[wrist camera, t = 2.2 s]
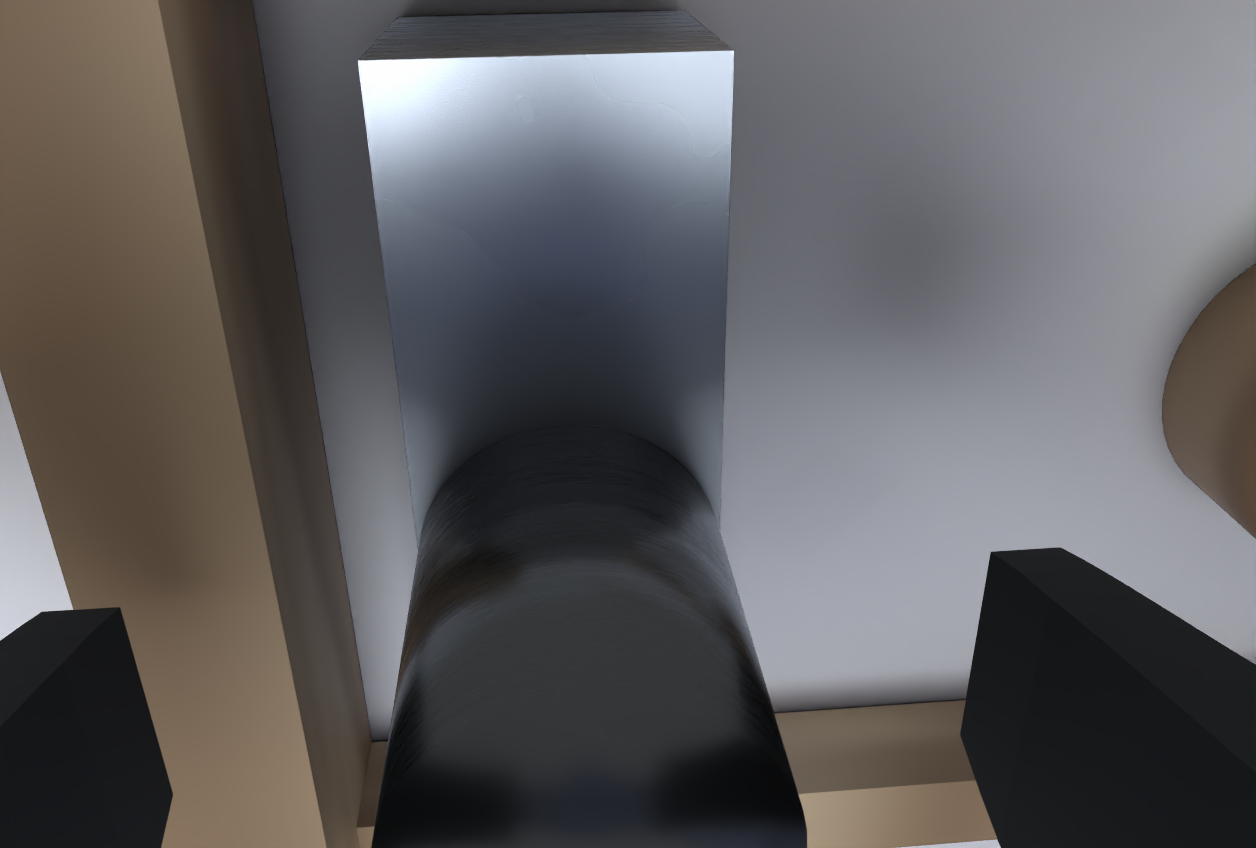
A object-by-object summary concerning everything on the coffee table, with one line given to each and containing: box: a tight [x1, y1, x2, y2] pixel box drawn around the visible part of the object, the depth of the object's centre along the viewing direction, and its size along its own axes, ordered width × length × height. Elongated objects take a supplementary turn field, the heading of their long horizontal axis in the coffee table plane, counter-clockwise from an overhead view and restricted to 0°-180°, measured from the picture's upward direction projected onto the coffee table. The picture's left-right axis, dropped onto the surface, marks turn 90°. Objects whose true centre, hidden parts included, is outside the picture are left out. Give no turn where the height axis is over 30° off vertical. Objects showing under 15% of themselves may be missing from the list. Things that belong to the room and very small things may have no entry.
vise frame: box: [0, 0, 997, 848], centre depth 13 cm, size 21×13×3 cm, turn 91°
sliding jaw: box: [358, 11, 807, 848], centre depth 10 cm, size 3×10×7 cm, turn 1°
